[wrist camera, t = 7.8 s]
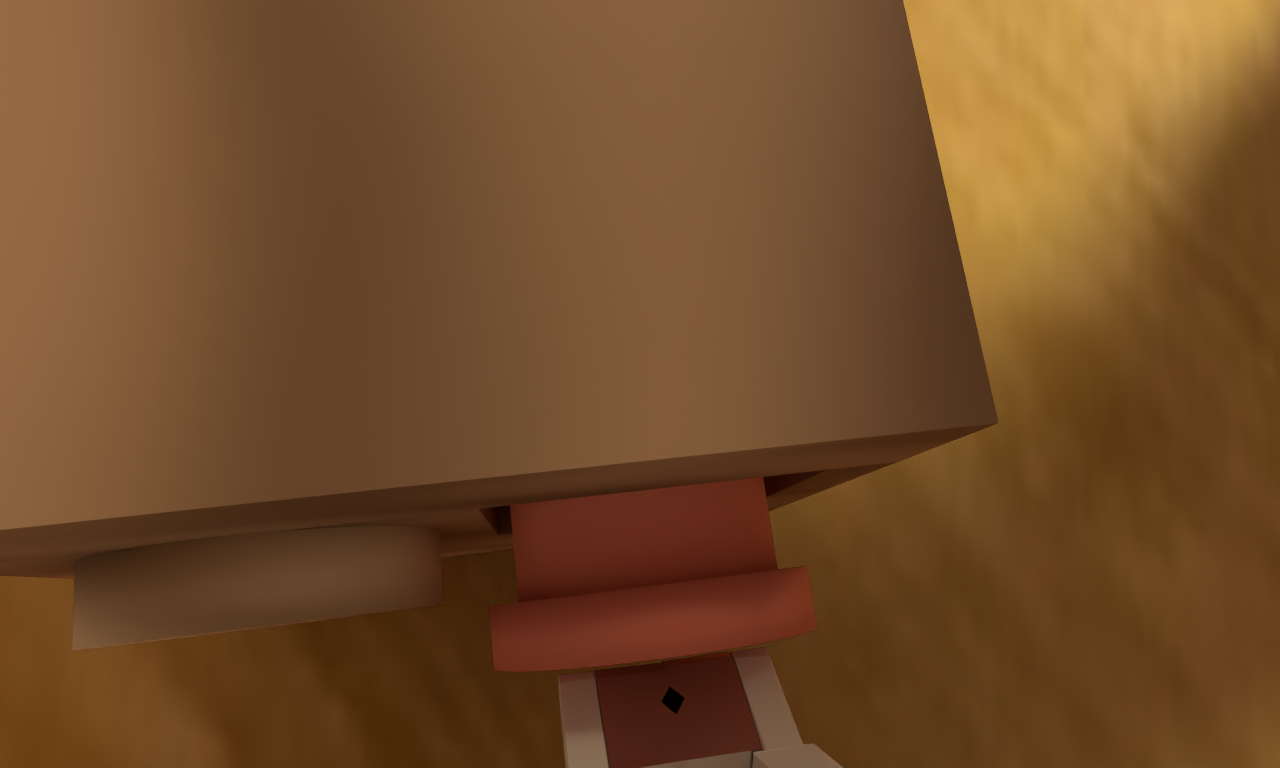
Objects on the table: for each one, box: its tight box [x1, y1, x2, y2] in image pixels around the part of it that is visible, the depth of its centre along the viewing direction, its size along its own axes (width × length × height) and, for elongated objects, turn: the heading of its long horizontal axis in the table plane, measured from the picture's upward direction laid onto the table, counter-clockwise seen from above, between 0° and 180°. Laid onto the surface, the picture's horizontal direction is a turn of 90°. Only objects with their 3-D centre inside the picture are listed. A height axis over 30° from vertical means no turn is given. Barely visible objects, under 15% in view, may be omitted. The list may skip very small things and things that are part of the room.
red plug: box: [489, 477, 817, 672], centre depth 13 cm, size 4×11×4 cm, turn 7°
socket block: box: [0, 0, 998, 651], centre depth 13 cm, size 11×7×11 cm, turn 97°
